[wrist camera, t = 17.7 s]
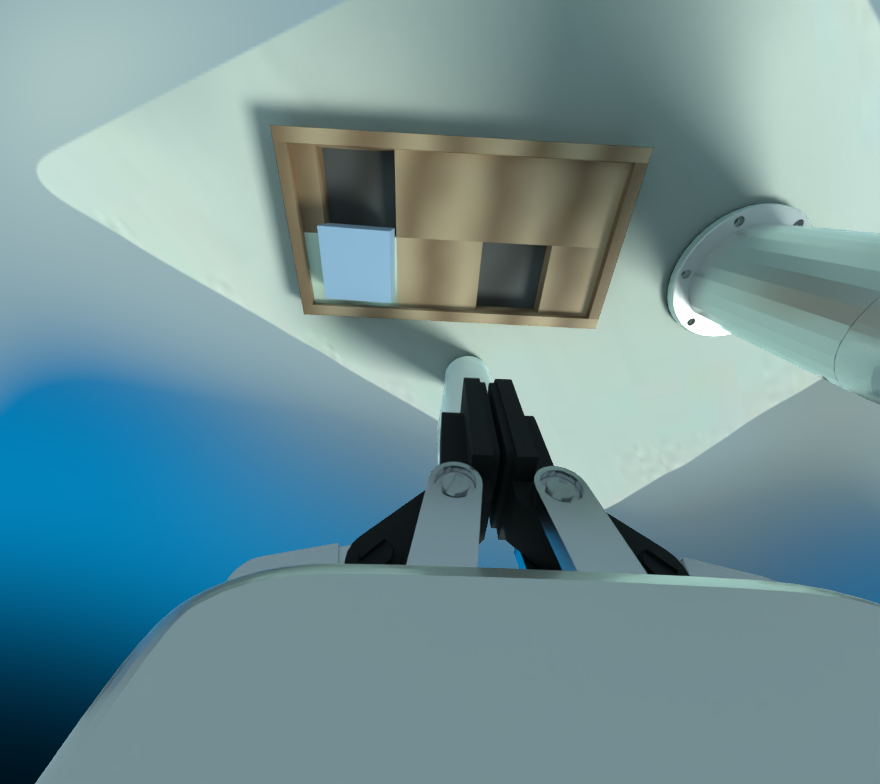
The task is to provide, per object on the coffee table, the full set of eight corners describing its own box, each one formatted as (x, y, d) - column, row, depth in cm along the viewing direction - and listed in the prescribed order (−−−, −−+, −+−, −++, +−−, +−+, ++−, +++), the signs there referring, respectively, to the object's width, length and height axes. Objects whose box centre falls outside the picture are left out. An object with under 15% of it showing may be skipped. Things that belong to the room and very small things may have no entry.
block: (394, 228, 29) (389, 231, 27) (394, 294, 32) (390, 303, 30) (328, 222, 29) (317, 225, 27) (335, 289, 32) (325, 298, 30)
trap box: (635, 151, 28) (653, 147, 25) (585, 319, 36) (595, 328, 33) (285, 131, 27) (270, 125, 25) (313, 305, 35) (304, 314, 33)
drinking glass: (436, 351, 38) (431, 431, 25) (493, 345, 37) (519, 424, 25) (442, 399, 41) (441, 491, 29) (495, 394, 41) (517, 485, 28)
